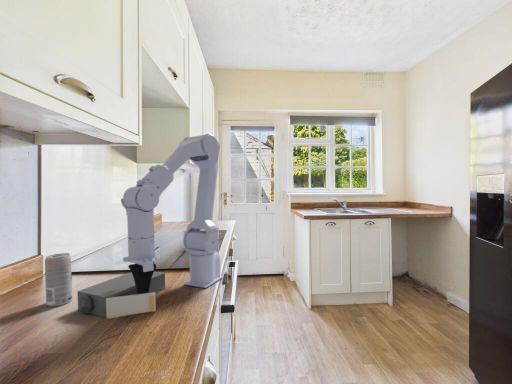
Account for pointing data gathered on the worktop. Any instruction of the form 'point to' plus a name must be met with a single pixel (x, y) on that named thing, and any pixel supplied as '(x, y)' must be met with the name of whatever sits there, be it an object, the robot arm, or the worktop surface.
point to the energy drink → (58, 279)
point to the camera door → (130, 304)
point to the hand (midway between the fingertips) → (143, 294)
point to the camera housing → (114, 292)
